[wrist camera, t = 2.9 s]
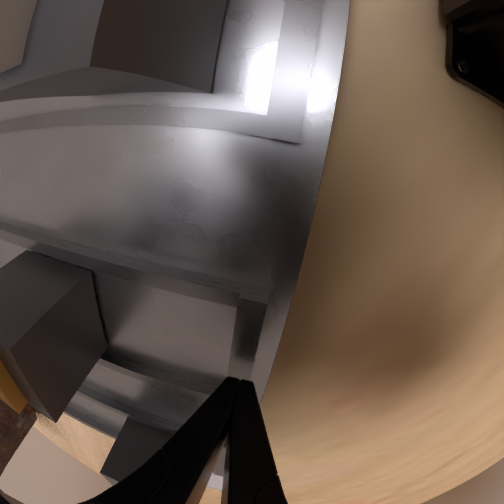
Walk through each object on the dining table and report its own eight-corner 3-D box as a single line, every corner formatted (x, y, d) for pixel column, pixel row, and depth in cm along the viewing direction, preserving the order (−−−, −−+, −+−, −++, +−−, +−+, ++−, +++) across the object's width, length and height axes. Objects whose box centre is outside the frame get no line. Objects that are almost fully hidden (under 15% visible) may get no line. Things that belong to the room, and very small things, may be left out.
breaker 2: (193, 435, 13) (167, 511, 9) (194, 457, 15) (174, 520, 10) (129, 414, 14) (95, 482, 9) (139, 439, 15) (114, 497, 11)
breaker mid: (91, 270, 9) (-5, 365, 4) (107, 347, 11) (47, 436, 6) (26, 249, 9) (-57, 314, 5) (46, 320, 11) (-14, 387, 6)
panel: (345, -33, 5) (358, -75, 3) (240, 452, 18) (233, 482, 15) (0, 26, 6) (-34, 26, 4) (49, 380, 19) (34, 400, 16)
